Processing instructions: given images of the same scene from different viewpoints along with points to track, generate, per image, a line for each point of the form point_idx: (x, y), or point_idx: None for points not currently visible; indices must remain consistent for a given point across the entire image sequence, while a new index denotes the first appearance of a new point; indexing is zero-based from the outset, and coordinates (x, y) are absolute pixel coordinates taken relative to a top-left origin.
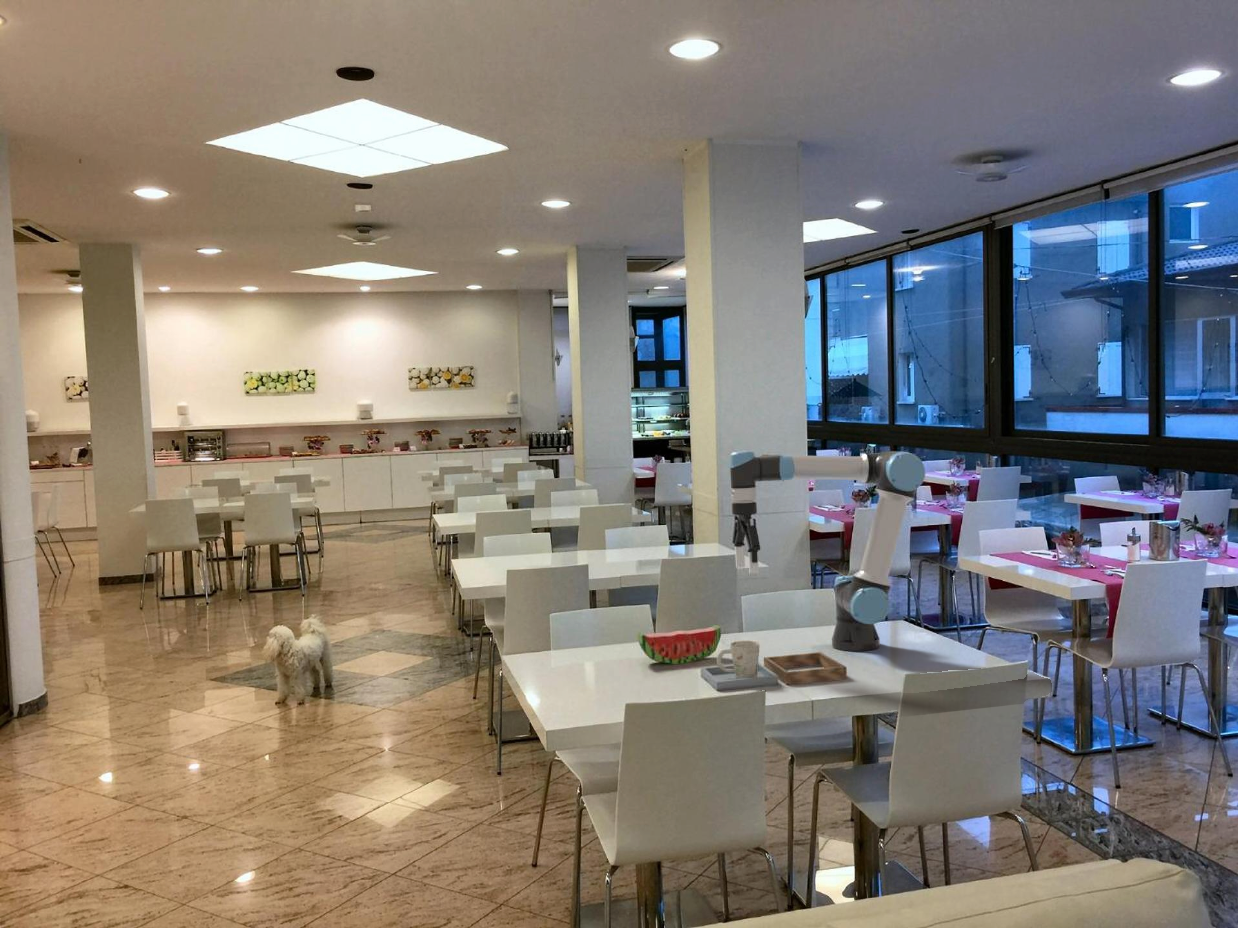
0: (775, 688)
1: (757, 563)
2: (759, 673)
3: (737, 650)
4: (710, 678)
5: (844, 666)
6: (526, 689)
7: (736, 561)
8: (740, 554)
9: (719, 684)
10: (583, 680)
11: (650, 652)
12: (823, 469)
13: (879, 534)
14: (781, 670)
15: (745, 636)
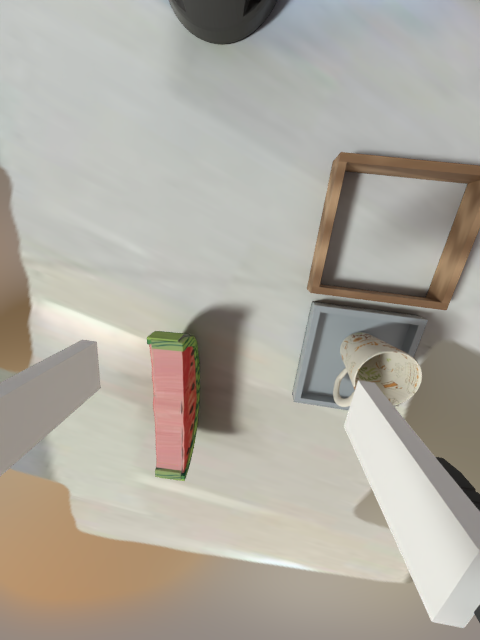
0: (433, 330)
1: (408, 434)
2: (343, 316)
3: (397, 398)
4: None
5: None
6: (238, 558)
7: (72, 412)
8: (22, 420)
9: None
10: (230, 509)
11: (193, 443)
12: None
13: None
14: (417, 306)
15: (38, 200)
